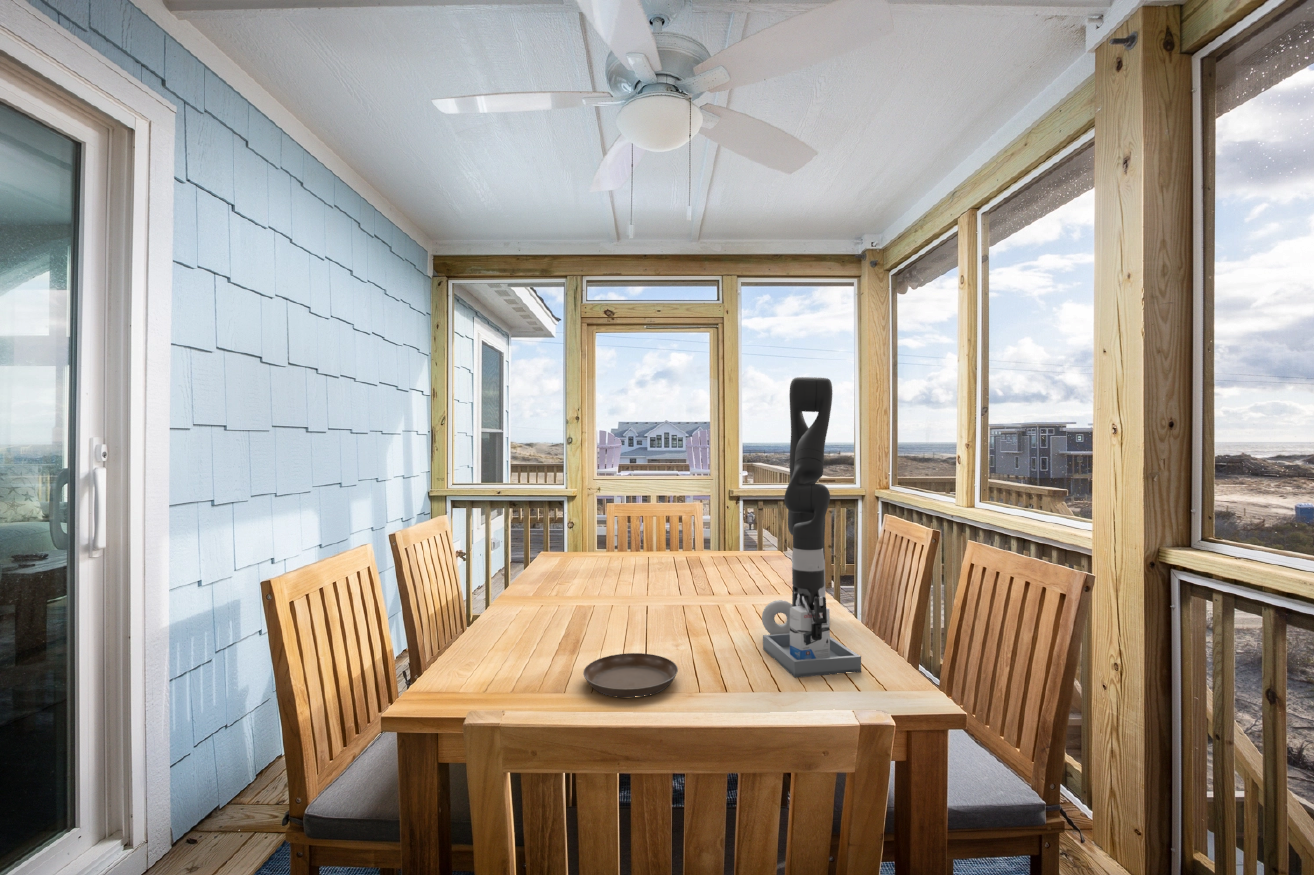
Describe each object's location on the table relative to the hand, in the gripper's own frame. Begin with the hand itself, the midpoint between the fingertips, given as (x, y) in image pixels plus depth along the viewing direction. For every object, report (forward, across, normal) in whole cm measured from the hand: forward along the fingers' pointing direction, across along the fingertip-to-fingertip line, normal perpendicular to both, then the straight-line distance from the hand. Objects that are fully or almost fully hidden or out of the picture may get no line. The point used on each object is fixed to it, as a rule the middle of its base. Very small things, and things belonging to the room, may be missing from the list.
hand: (809, 634), depth 150 cm
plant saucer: (+7, -5, +44) cm, 45 cm away
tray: (+6, 0, 0) cm, 6 cm away
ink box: (+6, 0, 0) cm, 6 cm away
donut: (+6, +18, 0) cm, 19 cm away
